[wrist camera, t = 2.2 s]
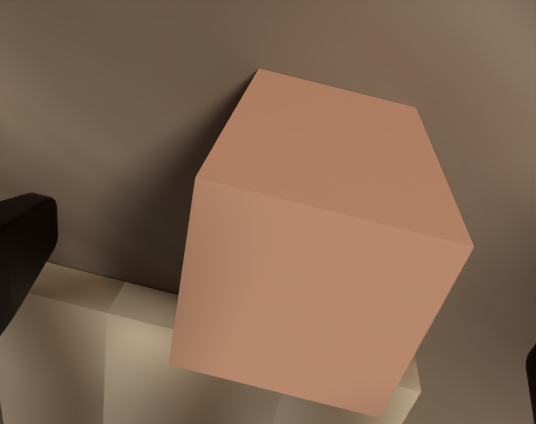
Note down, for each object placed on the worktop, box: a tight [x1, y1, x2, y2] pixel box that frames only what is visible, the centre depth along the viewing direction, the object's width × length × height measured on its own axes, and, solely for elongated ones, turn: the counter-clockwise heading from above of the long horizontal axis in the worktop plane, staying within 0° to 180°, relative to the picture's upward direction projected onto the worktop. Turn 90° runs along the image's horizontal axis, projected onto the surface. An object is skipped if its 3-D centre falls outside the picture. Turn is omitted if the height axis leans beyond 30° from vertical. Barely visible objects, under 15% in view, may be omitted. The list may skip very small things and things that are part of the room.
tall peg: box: [169, 69, 474, 418], centre depth 10 cm, size 4×4×6 cm
